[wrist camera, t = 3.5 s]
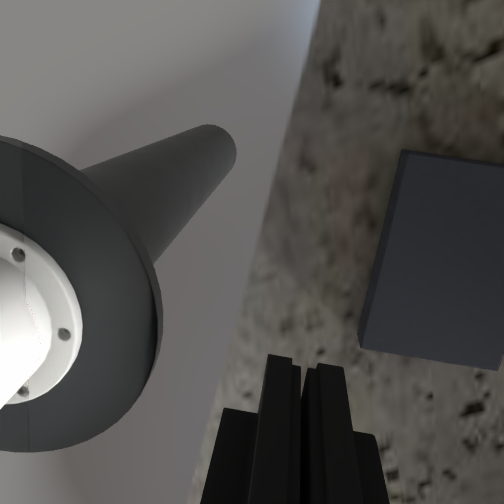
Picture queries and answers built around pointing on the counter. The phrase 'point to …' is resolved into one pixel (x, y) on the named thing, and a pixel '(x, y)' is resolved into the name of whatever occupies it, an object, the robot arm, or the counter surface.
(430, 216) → the charcoal pad
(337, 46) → the counter surface
